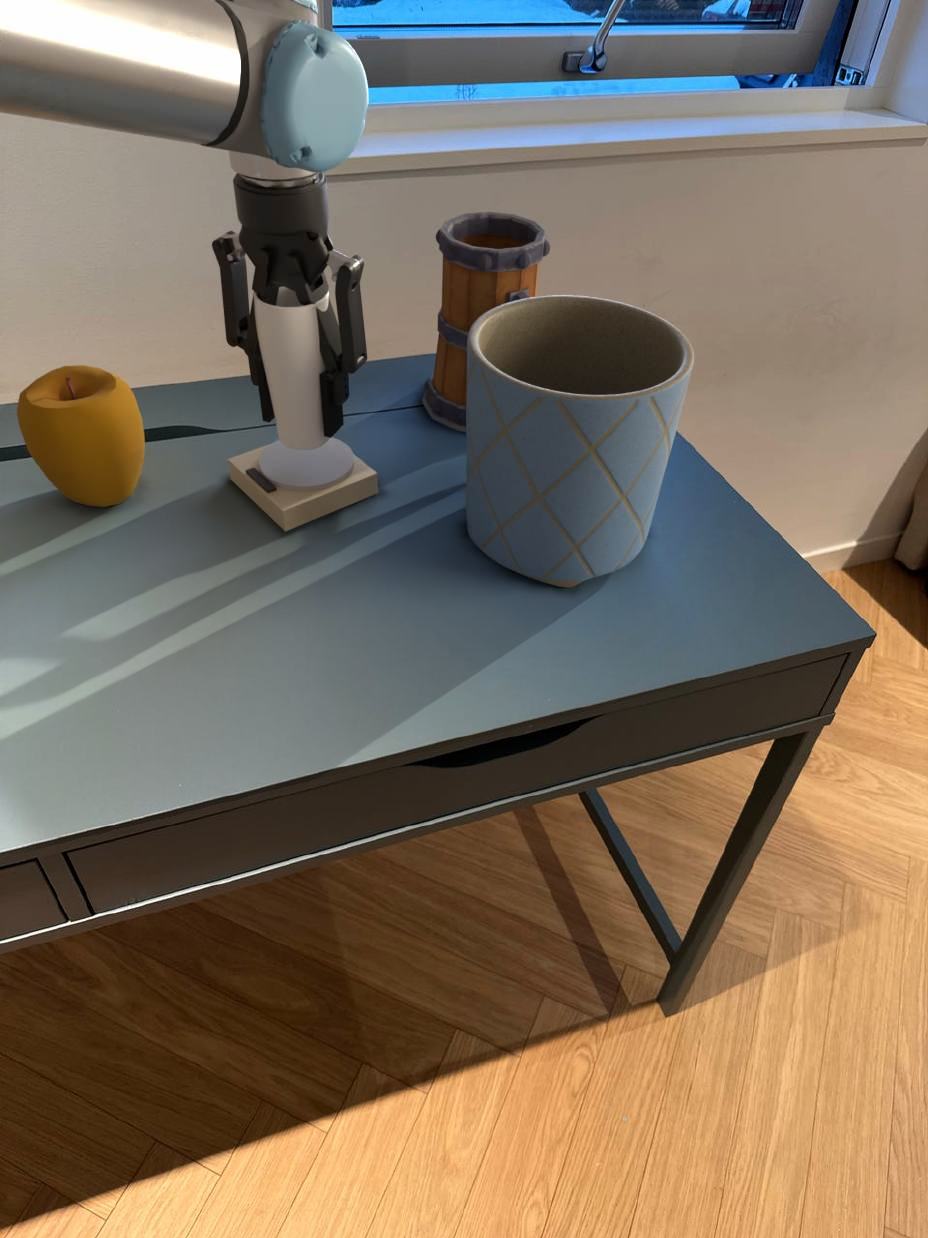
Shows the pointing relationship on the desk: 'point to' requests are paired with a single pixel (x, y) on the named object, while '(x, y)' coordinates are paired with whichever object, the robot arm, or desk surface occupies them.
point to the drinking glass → (293, 367)
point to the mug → (477, 294)
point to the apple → (84, 433)
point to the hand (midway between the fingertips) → (303, 422)
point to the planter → (569, 432)
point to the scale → (302, 480)
